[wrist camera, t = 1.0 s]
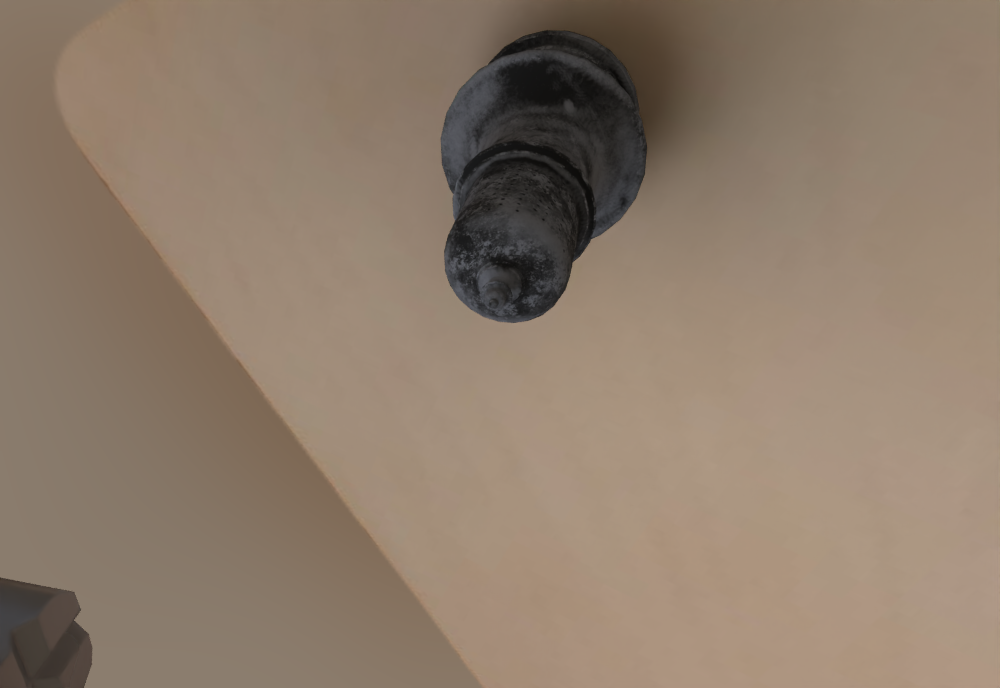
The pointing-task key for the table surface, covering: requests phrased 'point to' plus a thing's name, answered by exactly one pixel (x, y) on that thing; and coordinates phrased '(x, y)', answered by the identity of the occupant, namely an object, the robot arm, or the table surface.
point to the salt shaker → (537, 169)
